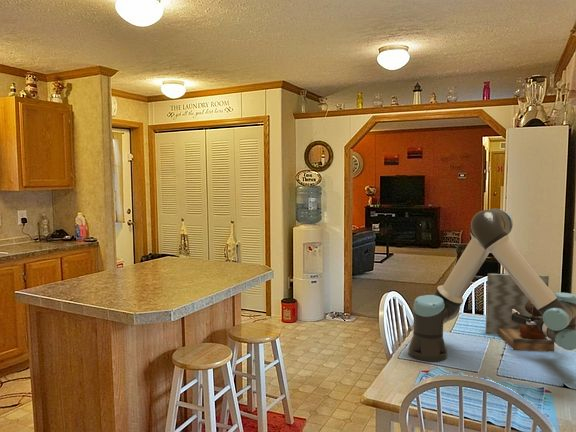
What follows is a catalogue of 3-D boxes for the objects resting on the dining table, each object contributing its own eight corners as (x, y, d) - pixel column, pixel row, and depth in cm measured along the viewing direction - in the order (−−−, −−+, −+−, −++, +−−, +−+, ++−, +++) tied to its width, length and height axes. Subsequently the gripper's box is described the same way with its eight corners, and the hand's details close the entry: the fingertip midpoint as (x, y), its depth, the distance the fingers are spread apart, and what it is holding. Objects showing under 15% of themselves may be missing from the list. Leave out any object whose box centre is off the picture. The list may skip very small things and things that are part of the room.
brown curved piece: (545, 345, 195) (547, 301, 190) (516, 339, 201) (517, 296, 196) (550, 328, 207) (552, 286, 202) (523, 323, 213) (524, 282, 208)
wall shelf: (501, 349, 197) (503, 283, 195) (485, 332, 219) (487, 273, 217) (566, 352, 194) (570, 285, 192) (544, 335, 216) (546, 275, 214)
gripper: (517, 336, 182) (499, 320, 203) (585, 338, 179) (559, 322, 200) (518, 317, 182) (499, 303, 203) (586, 319, 179) (560, 305, 200)
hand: (529, 312), depth 202 cm, fingers open, 13 cm apart
